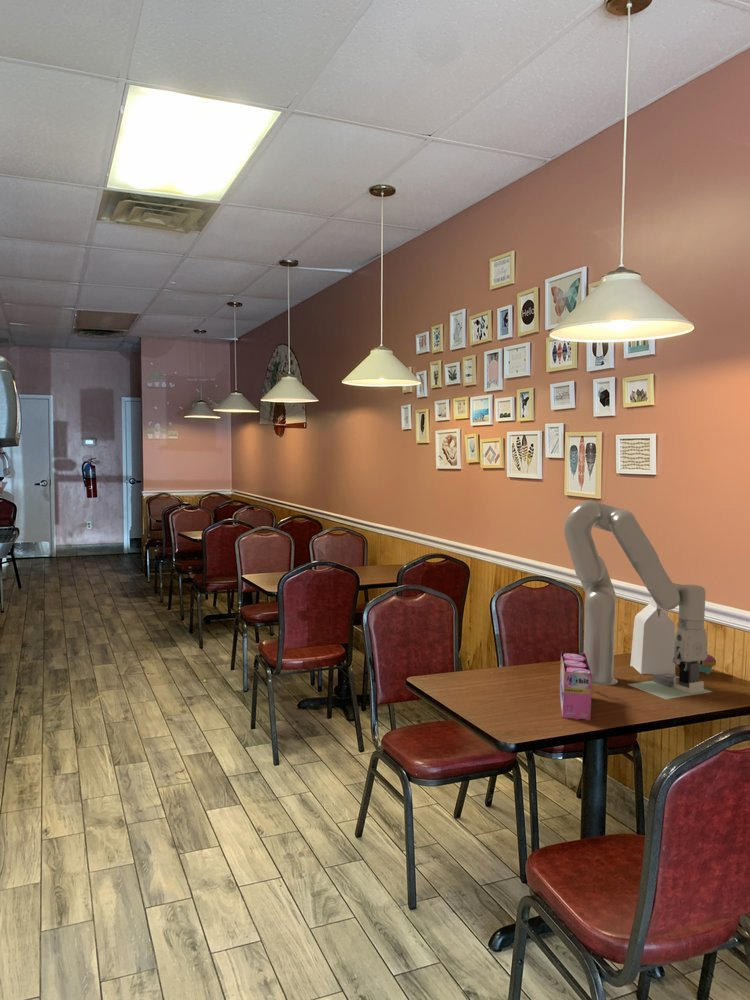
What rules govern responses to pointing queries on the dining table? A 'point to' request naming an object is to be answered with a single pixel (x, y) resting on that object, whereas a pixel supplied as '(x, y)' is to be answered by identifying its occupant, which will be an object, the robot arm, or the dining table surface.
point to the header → (692, 686)
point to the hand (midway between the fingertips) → (688, 681)
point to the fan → (665, 679)
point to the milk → (653, 641)
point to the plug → (692, 673)
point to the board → (664, 690)
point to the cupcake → (707, 664)
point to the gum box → (575, 686)
